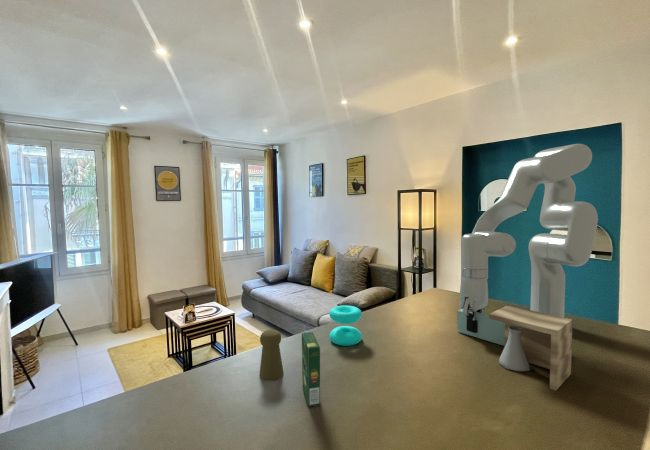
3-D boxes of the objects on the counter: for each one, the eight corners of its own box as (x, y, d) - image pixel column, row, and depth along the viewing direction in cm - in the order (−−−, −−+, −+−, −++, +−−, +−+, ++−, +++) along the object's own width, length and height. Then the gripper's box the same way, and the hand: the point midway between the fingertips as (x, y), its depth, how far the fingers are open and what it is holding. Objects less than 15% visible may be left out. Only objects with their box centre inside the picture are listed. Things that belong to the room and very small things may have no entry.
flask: (535, 373, 80) (536, 334, 79) (503, 371, 82) (504, 332, 81) (523, 360, 87) (524, 323, 87) (494, 357, 89) (495, 322, 88)
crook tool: (472, 323, 113) (472, 303, 112) (545, 343, 96) (546, 320, 95) (457, 331, 106) (457, 310, 106) (533, 354, 89) (533, 330, 89)
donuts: (365, 306, 103) (356, 316, 94) (365, 336, 104) (356, 349, 95) (335, 302, 107) (324, 312, 98) (336, 332, 108) (324, 344, 99)
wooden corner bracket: (506, 353, 91) (507, 305, 90) (570, 374, 80) (572, 319, 79) (488, 365, 84) (488, 314, 83) (555, 390, 73) (557, 330, 72)
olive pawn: (287, 370, 83) (286, 328, 83) (276, 382, 78) (275, 337, 77) (266, 366, 85) (265, 325, 85) (254, 378, 79) (253, 334, 79)
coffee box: (321, 406, 68) (320, 345, 67) (308, 408, 67) (307, 347, 67) (314, 385, 76) (313, 331, 75) (302, 387, 75) (301, 332, 75)
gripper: (475, 267, 110) (475, 320, 111) (449, 275, 100) (450, 333, 101) (498, 270, 104) (498, 326, 106) (473, 279, 94) (474, 341, 95)
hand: (475, 329), depth 103 cm, fingers closed on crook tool, 3 cm apart
